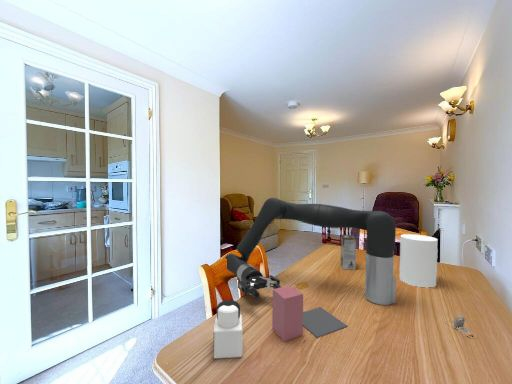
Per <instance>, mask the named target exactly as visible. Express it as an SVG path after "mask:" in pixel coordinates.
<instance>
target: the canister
mask: <svg viewBox="0 0 512 384" xmlns="http://www.w3.org/2000/svg"><path fill="white" fill-rule="evenodd" d="M438 240H439V239H438V238H436V237H434V236H433V237H432V236H429V235H423V234H415V233H414V234H413V233H412V234H411V233H403V234H401V235H400V245H399V246H400V247H399V280H400V281H401V282H402V281H403V282H402V283H404V282H405V283H404V284H406V283H407V284H406V285H410V286H412V287H415V286H417V287H416V288H420V287H426V288H425V289H429V288H428V287H434V286H436V287H437V273H438V272H437V270H438V269H437V268H438V245H439V244H438ZM434 288H435V287H434Z"/></svg>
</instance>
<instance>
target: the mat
mask: <svg viewBox="0 0 512 384" xmlns="http://www.w3.org/2000/svg"><path fill="white" fill-rule="evenodd" d="M303 328H305V329H306V330H307V331H308V332H310V333H311V334H312V336H314V338H317V339H318V338H321V337H323V336H326V335H330V334H331V333H334V332H336V331H339V330H343V329H344V328H348V325H347V324H346V323H344V322H343V321H341V320H340V319H339V318H337V317H336V316H335V315H333V314H332V313H330V312H328V310H325V309H324V308H323V307H321V306H319V307H316V308H313V309H308V310H305V311H303Z"/></svg>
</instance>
